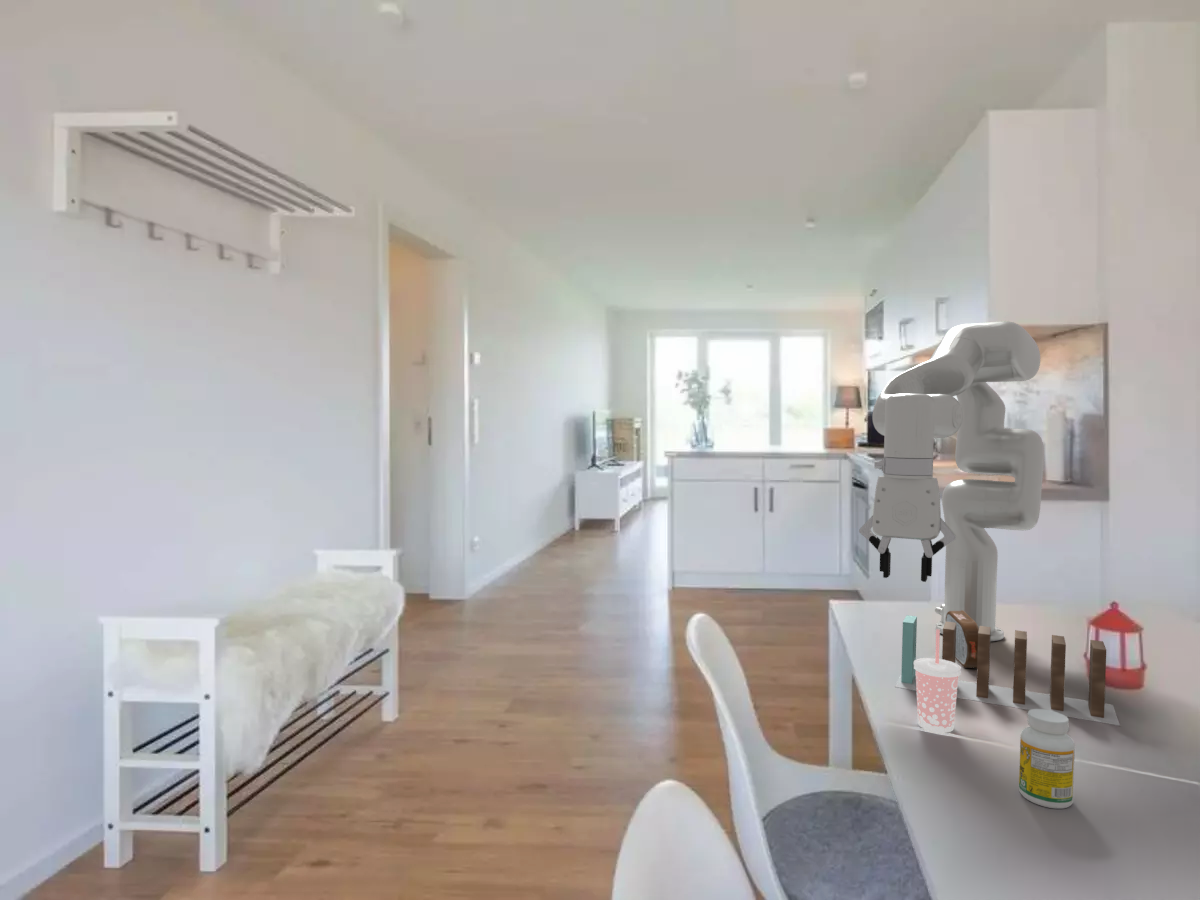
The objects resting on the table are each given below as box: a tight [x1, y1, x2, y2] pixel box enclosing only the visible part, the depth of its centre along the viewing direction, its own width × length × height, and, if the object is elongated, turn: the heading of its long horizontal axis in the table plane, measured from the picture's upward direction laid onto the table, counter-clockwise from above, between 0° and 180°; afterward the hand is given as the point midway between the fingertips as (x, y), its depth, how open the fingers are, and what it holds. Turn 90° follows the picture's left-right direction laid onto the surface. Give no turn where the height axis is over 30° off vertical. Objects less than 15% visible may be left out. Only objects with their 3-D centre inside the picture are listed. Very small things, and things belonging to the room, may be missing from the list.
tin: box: [946, 610, 979, 669], centre depth 135 cm, size 15×3×8 cm, turn 168°
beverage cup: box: [914, 629, 962, 735], centre depth 105 cm, size 6×6×14 cm
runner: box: [894, 672, 1120, 726], centre depth 117 cm, size 30×9×1 cm, turn 61°
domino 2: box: [941, 622, 956, 663], centre depth 121 cm, size 2×5×10 cm, turn 151°
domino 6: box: [1087, 639, 1107, 718], centre depth 111 cm, size 2×5×10 cm, turn 151°
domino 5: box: [1049, 634, 1067, 711], centre depth 113 cm, size 2×5×10 cm, turn 151°
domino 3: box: [976, 626, 991, 698], centre depth 118 cm, size 2×5×10 cm, turn 151°
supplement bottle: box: [1018, 709, 1076, 810], centre depth 85 cm, size 5×5×10 cm
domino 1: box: [900, 614, 918, 684], centre depth 125 cm, size 2×5×10 cm, turn 151°
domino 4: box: [1012, 629, 1028, 705], centre depth 116 cm, size 2×5×10 cm, turn 151°
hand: (905, 577), depth 124 cm, fingers open, 5 cm apart
